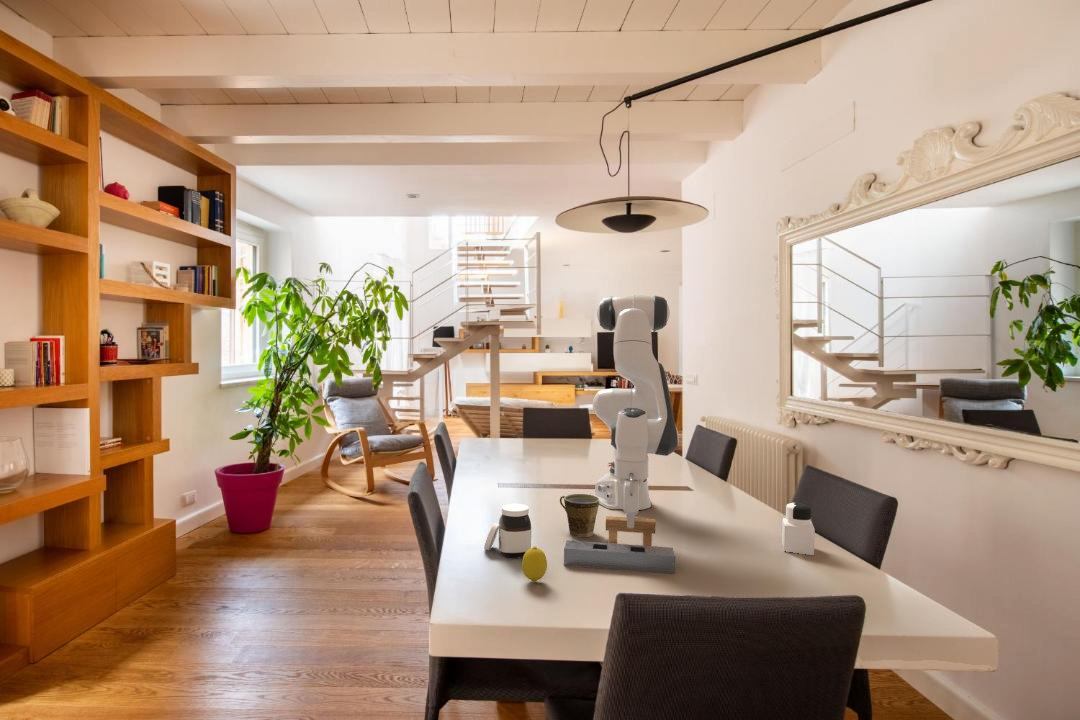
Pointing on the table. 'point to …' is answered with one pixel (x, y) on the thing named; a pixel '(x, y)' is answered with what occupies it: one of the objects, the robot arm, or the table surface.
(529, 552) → the lemon
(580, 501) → the ceramic cup
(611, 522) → the wooden arch block
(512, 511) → the spread jar
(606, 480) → the robot arm
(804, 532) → the medicine bottle
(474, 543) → the table surface
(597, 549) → the rail
